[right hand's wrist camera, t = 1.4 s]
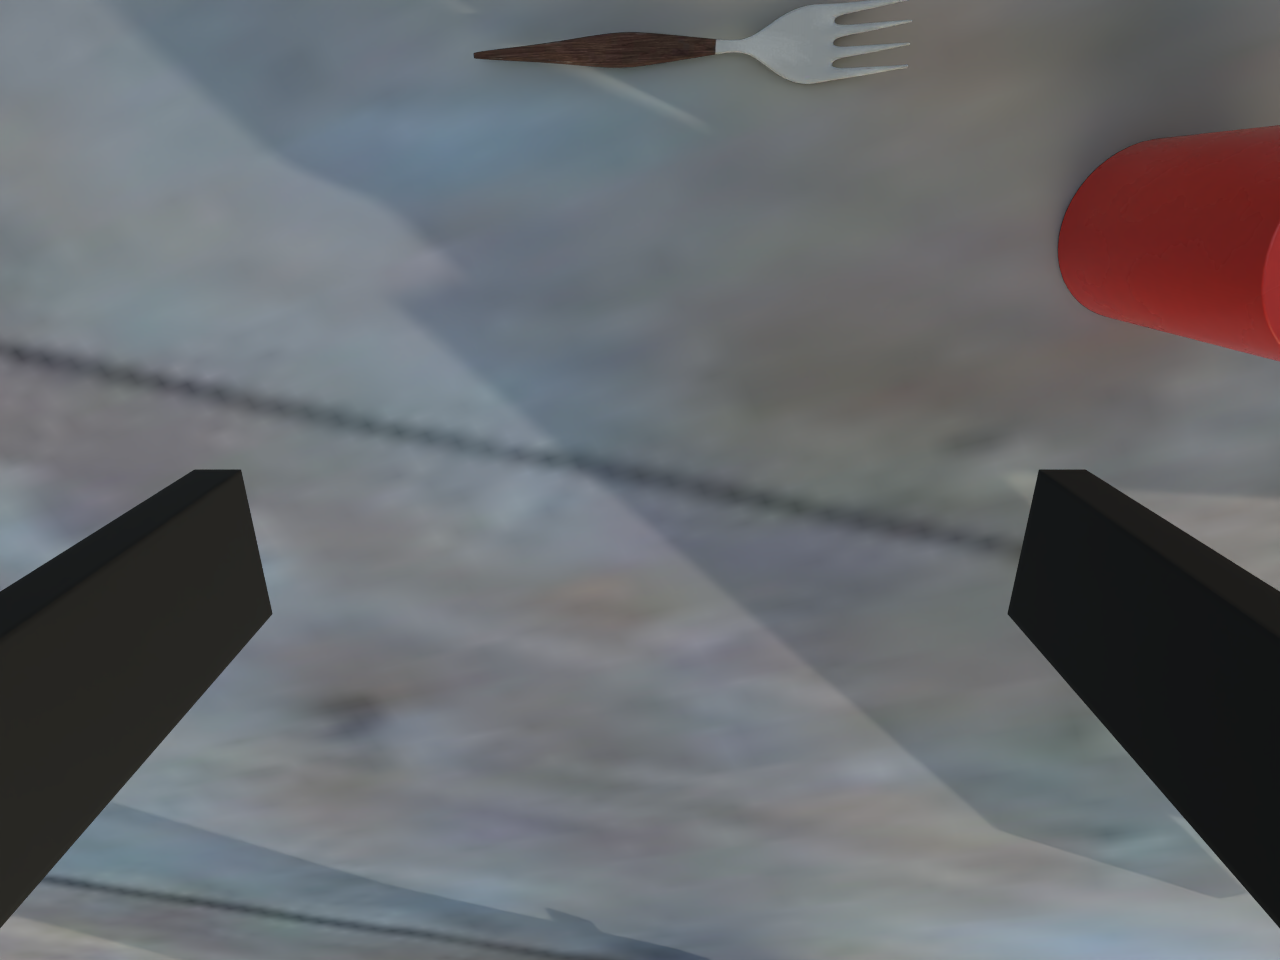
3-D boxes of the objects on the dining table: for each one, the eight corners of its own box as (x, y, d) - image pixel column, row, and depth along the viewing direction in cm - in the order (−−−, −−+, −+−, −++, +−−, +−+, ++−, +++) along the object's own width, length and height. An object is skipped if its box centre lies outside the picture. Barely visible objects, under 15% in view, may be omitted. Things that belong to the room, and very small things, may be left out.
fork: (472, 18, 27) (460, 5, 26) (897, 2, 27) (916, -12, 25) (480, 95, 28) (469, 88, 26) (890, 81, 28) (908, 73, 26)
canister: (1061, 154, 29) (1284, 132, 19) (1244, 123, 29) (1570, 85, 19) (1053, 330, 32) (1245, 393, 22) (1221, 304, 32) (1496, 356, 21)
